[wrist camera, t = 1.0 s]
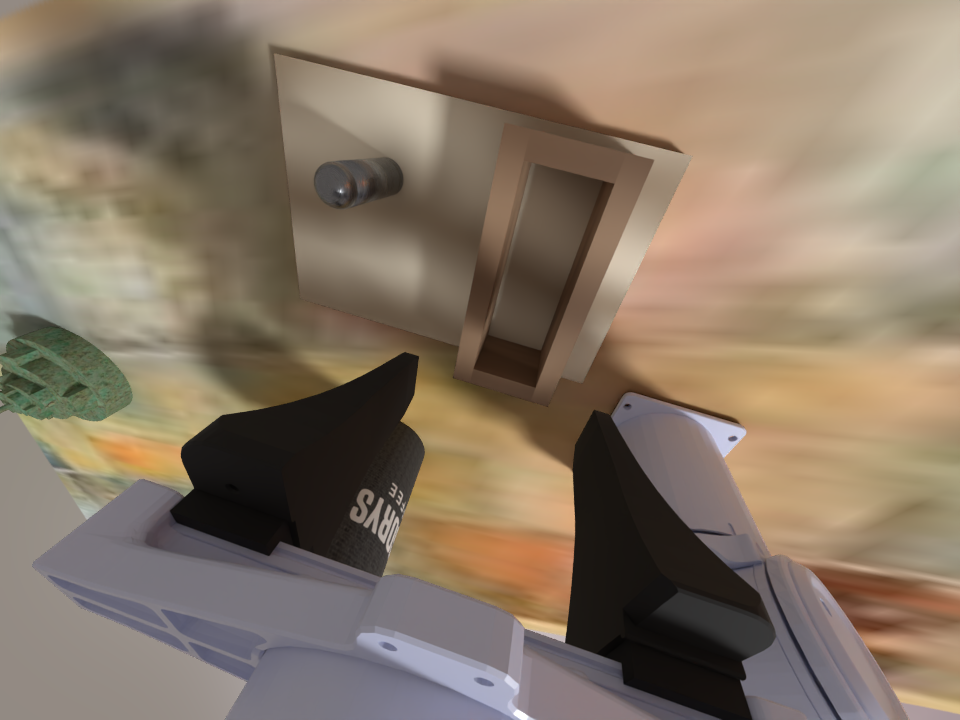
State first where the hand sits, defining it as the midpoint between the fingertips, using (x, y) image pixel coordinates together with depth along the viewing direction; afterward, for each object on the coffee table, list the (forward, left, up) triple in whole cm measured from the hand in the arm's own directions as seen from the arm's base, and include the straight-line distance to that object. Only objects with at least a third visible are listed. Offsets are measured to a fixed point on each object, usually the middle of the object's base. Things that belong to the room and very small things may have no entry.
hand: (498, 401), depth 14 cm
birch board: (+3, +5, -9) cm, 11 cm away
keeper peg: (+6, +9, -9) cm, 14 cm away
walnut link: (+3, 0, -8) cm, 9 cm away
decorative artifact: (-20, +42, -10) cm, 48 cm away
